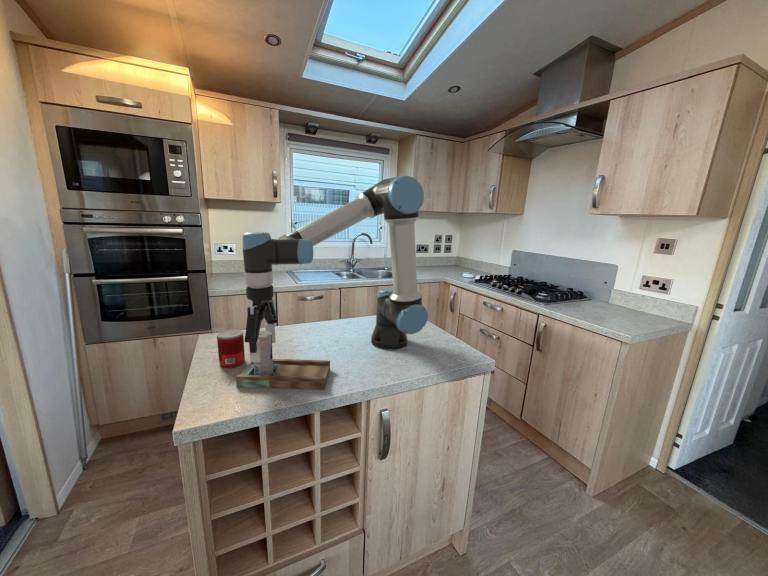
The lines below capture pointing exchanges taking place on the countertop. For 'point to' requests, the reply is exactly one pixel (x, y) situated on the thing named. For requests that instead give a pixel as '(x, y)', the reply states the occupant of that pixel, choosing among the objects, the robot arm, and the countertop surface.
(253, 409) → the countertop surface
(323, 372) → the rail board
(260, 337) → the beverage can
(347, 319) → the countertop surface
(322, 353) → the countertop surface
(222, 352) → the canned food
